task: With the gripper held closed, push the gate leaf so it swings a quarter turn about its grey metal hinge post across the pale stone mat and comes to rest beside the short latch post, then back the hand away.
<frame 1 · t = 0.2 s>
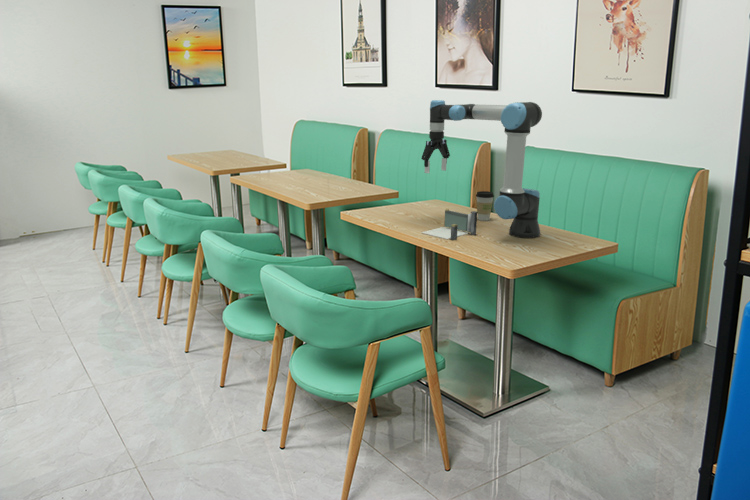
hand: (435, 171, 327), 27 cm above the table, fingers open, 13 cm apart
coffee cup: (483, 219, 342), on the table
gate: (458, 219, 315), point 6 cm above the table, hinge at 0.0°
mat: (445, 233, 312), on the table
latch post: (453, 239, 300), on the table
hinge post: (473, 234, 310), on the table
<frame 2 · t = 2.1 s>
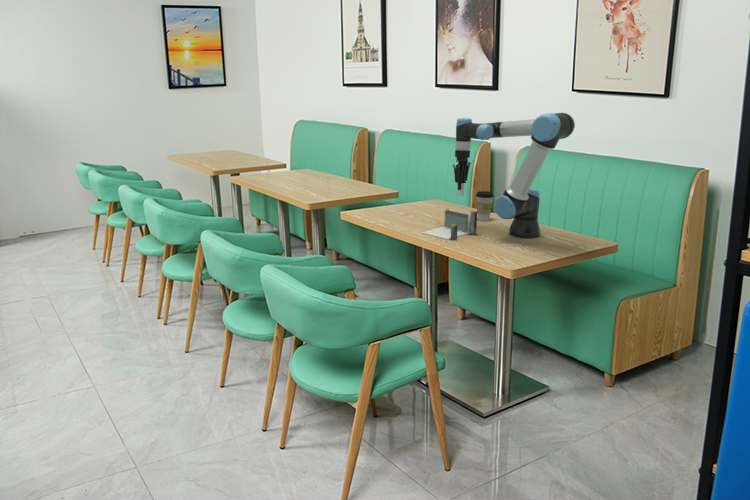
hand: (460, 195, 319), 17 cm above the table, fingers closed
nothing on the table moved.
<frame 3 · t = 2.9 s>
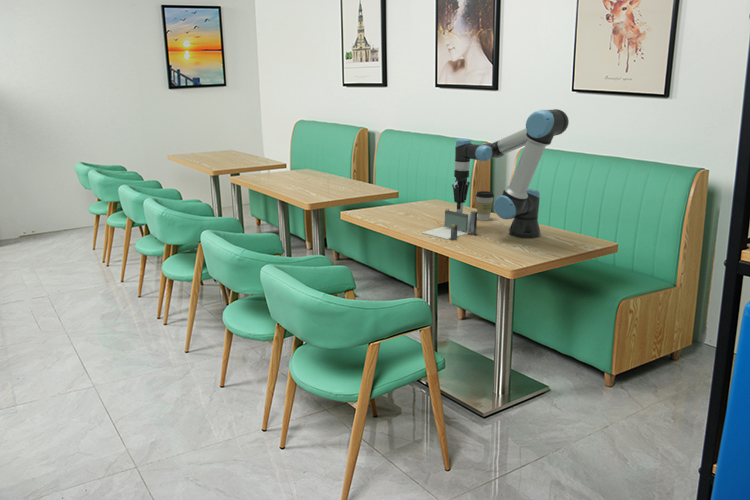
hand: (459, 214, 321), 7 cm above the table, fingers closed
nothing on the table moved.
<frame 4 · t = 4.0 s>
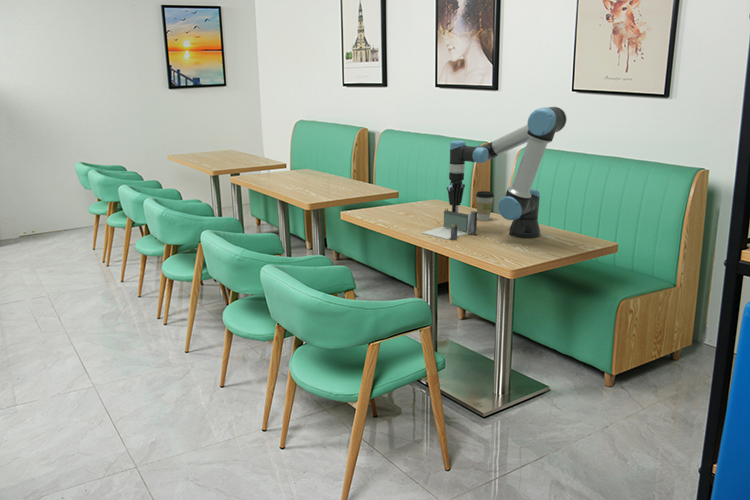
hand: (454, 217, 319), 6 cm above the table, fingers closed
gate: (457, 220, 315), point 6 cm above the table, hinge at 3.1°, touching gripper
everything else where it was.
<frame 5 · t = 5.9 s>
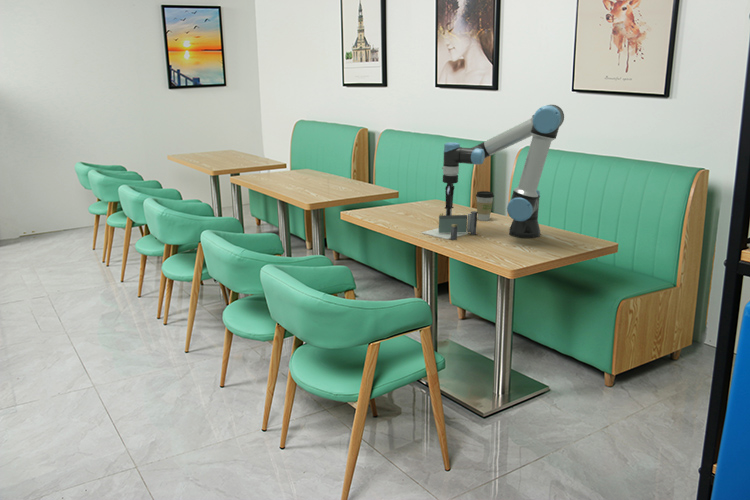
hand: (448, 221, 311), 6 cm above the table, fingers closed
gate: (455, 222, 309), point 6 cm above the table, hinge at 53.2°, touching gripper
everything else where it was.
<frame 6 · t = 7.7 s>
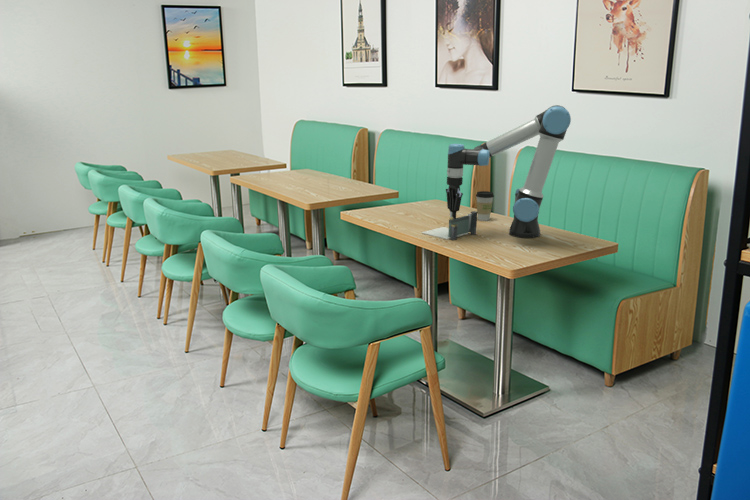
hand: (452, 224, 305), 6 cm above the table, fingers closed
gate: (460, 224, 305), point 6 cm above the table, hinge at 90.0°, touching gripper
everything else where it was.
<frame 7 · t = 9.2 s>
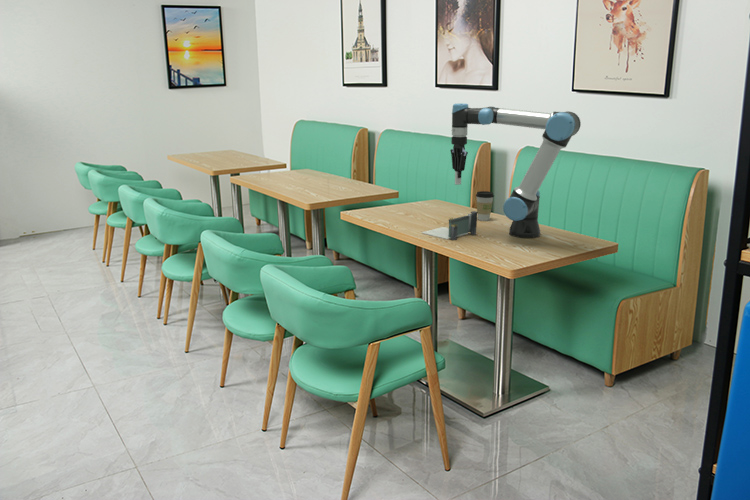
hand: (457, 184, 308), 24 cm above the table, fingers closed
gate: (460, 224, 305), point 6 cm above the table, hinge at 90.1°
everything else where it was.
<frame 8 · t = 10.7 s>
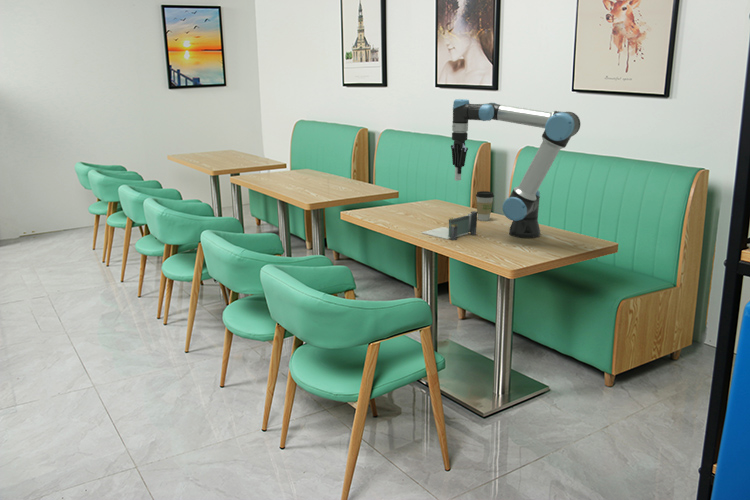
hand: (457, 180, 308), 26 cm above the table, fingers closed
nothing on the table moved.
at the end: gate at +90° (first picture: +0°) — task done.
